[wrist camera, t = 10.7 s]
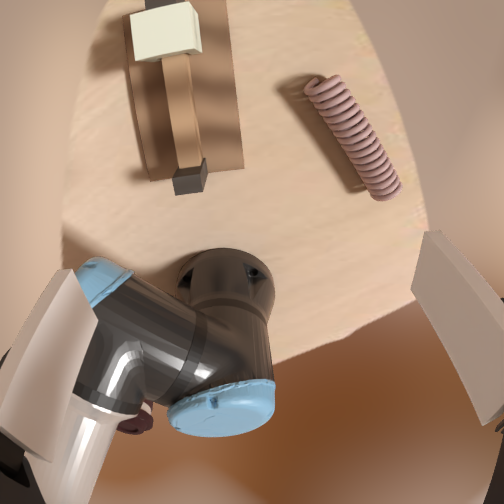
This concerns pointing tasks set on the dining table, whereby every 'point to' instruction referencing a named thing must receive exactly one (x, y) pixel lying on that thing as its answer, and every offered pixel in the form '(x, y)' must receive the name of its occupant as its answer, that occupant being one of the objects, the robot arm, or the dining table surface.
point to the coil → (346, 117)
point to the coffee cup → (138, 420)
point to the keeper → (165, 32)
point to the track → (206, 97)
